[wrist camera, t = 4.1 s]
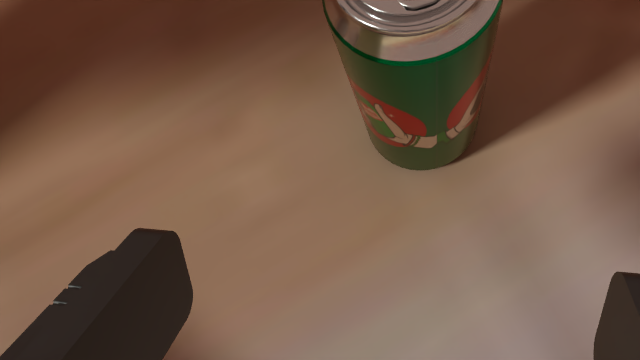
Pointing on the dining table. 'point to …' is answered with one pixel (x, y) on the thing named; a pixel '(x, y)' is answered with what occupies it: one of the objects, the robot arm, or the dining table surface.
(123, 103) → the dining table surface
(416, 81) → the soda can
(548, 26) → the dining table surface
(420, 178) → the dining table surface
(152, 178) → the dining table surface
